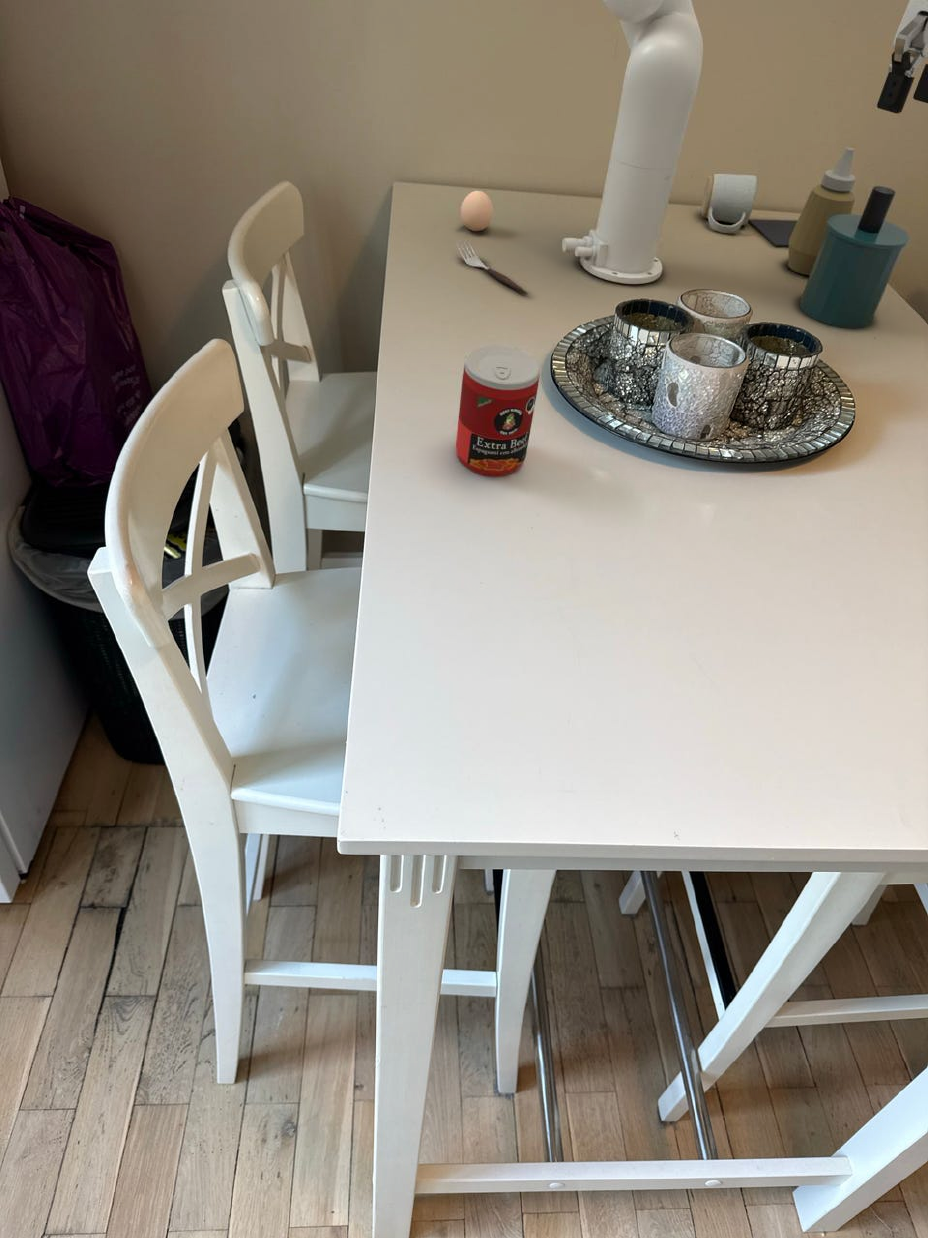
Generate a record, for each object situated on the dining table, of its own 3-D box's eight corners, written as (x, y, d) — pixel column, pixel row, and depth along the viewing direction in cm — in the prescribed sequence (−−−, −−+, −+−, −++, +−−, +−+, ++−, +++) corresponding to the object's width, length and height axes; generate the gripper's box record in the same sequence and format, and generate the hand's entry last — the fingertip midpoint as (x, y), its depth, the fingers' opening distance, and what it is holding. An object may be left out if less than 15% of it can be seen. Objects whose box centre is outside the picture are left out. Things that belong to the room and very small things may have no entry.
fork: (519, 299, 124) (521, 285, 123) (453, 256, 133) (455, 242, 131) (533, 295, 125) (535, 281, 124) (467, 253, 134) (469, 240, 133)
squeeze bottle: (825, 262, 145) (870, 143, 133) (835, 283, 139) (884, 160, 127) (776, 256, 145) (817, 136, 133) (785, 276, 139) (828, 153, 127)
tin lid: (850, 253, 119) (869, 204, 114) (810, 221, 126) (827, 174, 122) (921, 254, 121) (943, 206, 117) (878, 223, 129) (897, 176, 124)
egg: (492, 226, 143) (496, 188, 139) (488, 238, 139) (492, 199, 135) (461, 221, 143) (465, 183, 139) (456, 233, 139) (460, 194, 135)
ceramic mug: (697, 208, 158) (710, 163, 152) (743, 215, 158) (757, 170, 152) (700, 231, 150) (713, 184, 145) (748, 238, 150) (763, 191, 145)
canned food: (465, 480, 91) (477, 385, 84) (446, 438, 97) (455, 345, 89) (535, 475, 93) (552, 381, 86) (512, 433, 99) (526, 342, 91)
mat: (775, 246, 148) (776, 244, 148) (747, 221, 156) (748, 219, 156) (833, 247, 151) (834, 245, 150) (803, 222, 158) (803, 220, 158)
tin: (820, 328, 127) (852, 247, 119) (787, 296, 134) (816, 218, 126) (884, 327, 129) (919, 248, 121) (848, 296, 136) (879, 219, 128)
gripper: (971, -67, 108) (911, 91, 120) (905, -65, 99) (846, 106, 111) (1032, -56, 104) (963, 105, 116) (968, -53, 95) (901, 122, 107)
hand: (906, 105), depth 114 cm, fingers open, 9 cm apart
